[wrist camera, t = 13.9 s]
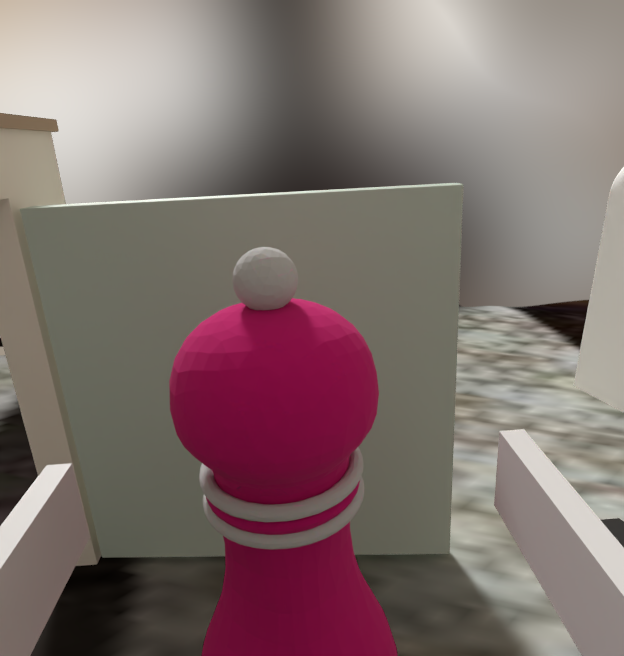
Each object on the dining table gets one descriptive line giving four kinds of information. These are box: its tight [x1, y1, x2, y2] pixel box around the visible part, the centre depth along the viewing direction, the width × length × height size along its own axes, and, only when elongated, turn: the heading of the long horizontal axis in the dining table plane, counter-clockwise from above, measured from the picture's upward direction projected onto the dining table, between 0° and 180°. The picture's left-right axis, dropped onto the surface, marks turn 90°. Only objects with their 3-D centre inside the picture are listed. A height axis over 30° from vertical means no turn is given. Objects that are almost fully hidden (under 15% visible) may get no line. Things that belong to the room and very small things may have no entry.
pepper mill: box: [169, 247, 397, 656], centre depth 17 cm, size 7×7×20 cm
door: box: [20, 183, 463, 558], centre depth 28 cm, size 3×20×20 cm, turn 87°
